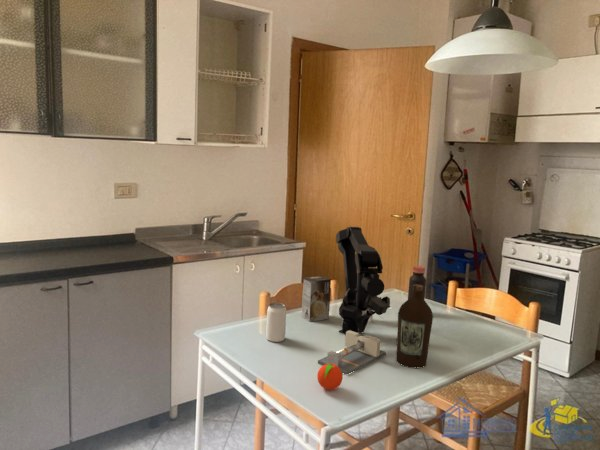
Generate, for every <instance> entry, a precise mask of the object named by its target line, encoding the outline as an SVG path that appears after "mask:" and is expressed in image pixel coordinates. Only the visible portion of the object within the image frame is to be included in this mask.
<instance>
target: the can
mask: <svg viewBox="0 0 600 450" xmlns="http://www.w3.org/2000/svg"><path fill="white" fill-rule="evenodd" d="M286 321H287V308H286V305H285V304H284V303H281V302H272V303H269V304H268V307H267V310H266V330H265V331H266V333H265V334H266V335H265V336H266V337H265V338H266V340H267V341H268V342H271V343H281V342H283V341H284V340H285V337H286V324H287V322H286Z"/></svg>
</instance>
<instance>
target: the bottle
mask: <svg viewBox="0 0 600 450" xmlns="http://www.w3.org/2000/svg"><path fill="white" fill-rule="evenodd" d="M425 273H426V267H425V266H423V265H413V266H412V275H411V276H410V277H409V283H408V292H407V293H408V295H407V300H408V299H409V298H411V296H412V289H413V285H415V284H418V285H422V286H423V299H424V301H425V298H426V290H427V289H426V288H427V278H426V277H425V275H424V274H425Z"/></svg>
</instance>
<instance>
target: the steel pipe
mask: <svg viewBox="0 0 600 450" xmlns="http://www.w3.org/2000/svg"><path fill="white" fill-rule="evenodd" d="M363 337H366V338H370V337H372V338H375V339H378V338H377V337H374V336H371V335H365V336H363ZM378 340H379V339H378ZM364 344H365V342H363V341H361V342H359V343H356V344H354V345H352V346H350V347H345V349H344V348H343V349H342V348H341V351H340V350H338V351H339V352H338V351H336V352H335V351H334V350H330V351H328V352H327V356H326V357H327V364H328V363H331V364H335V365H336V366H338V367H341V366H342V357H344V356H347V355H348V354H350V353H352V352H355V351H357V350H359V349H361V348H363V347H364Z"/></svg>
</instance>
